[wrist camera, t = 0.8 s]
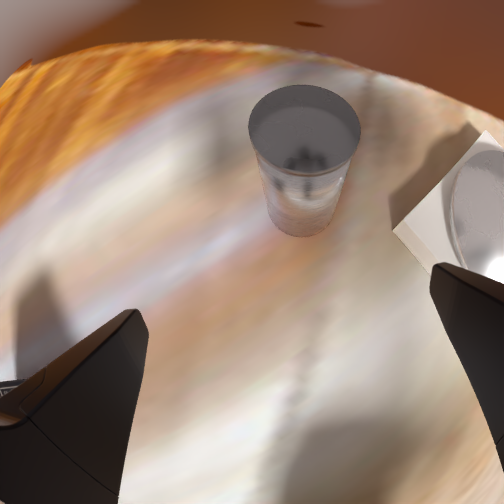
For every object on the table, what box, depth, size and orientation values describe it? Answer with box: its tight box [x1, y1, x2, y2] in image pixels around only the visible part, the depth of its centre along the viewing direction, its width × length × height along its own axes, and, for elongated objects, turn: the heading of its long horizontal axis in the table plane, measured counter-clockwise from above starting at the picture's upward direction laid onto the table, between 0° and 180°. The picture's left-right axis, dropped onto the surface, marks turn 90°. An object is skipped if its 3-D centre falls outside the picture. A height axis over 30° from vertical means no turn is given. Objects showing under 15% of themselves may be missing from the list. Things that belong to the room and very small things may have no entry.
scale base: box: [392, 130, 504, 276], centre depth 19 cm, size 14×14×2 cm
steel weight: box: [248, 85, 360, 237], centre depth 18 cm, size 5×5×10 cm
